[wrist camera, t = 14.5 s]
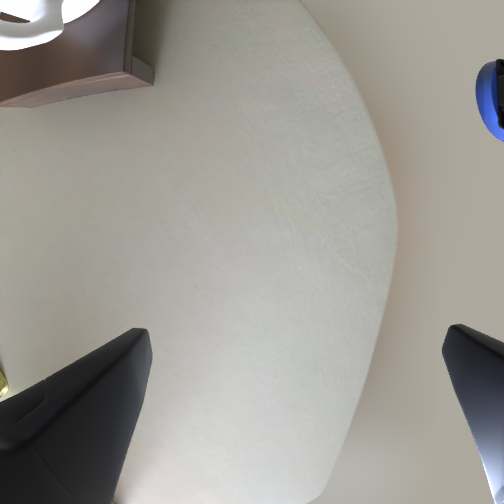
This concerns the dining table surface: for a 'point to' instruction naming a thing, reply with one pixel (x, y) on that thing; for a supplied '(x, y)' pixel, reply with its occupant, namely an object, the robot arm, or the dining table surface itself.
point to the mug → (38, 20)
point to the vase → (3, 384)
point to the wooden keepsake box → (75, 59)
